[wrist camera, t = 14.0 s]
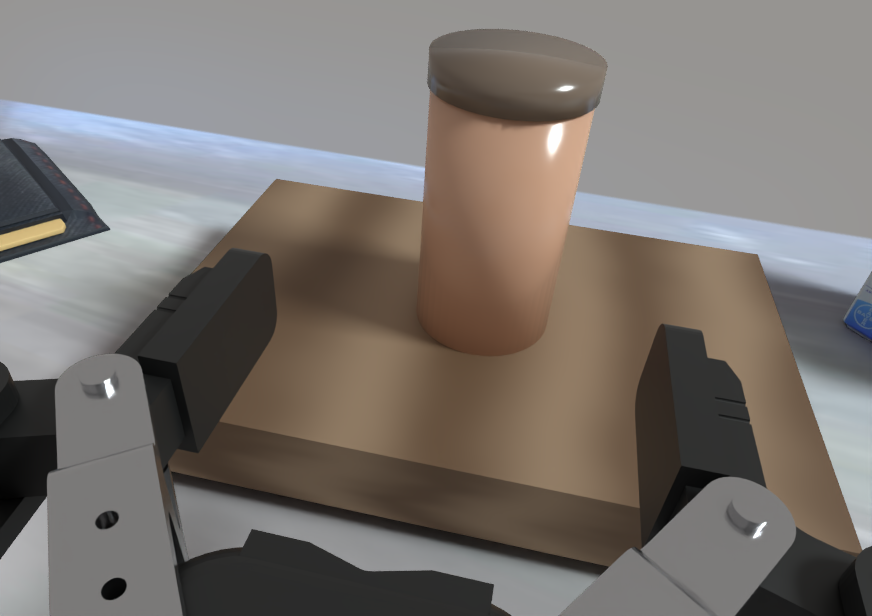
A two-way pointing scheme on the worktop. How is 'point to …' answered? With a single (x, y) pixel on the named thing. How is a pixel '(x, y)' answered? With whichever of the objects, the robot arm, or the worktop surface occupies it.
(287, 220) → the walnut stand
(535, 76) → the terracotta jar
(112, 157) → the worktop surface
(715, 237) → the worktop surface
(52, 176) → the dark hardcover book
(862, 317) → the medicine box
